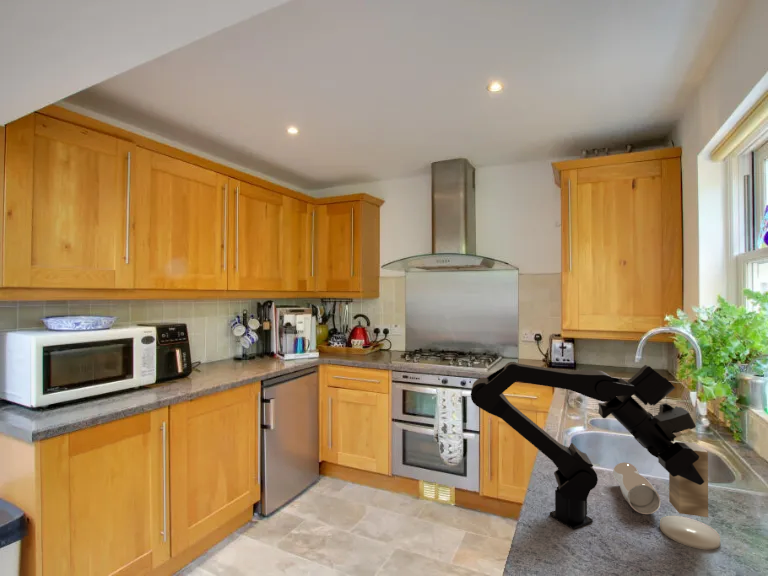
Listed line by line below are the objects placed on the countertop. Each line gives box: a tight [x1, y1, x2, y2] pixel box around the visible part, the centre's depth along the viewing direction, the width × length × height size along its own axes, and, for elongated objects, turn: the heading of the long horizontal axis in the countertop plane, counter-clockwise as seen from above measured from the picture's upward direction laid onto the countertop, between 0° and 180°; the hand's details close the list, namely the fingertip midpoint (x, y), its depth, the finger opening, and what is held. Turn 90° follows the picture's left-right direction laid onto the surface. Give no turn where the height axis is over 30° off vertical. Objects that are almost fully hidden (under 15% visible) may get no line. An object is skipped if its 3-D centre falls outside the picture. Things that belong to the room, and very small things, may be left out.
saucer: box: [659, 515, 721, 551], centre depth 84 cm, size 10×10×1 cm
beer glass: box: [612, 462, 662, 516], centre depth 99 cm, size 7×7×15 cm
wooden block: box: [668, 440, 709, 518], centre depth 84 cm, size 5×5×13 cm
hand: (695, 477), depth 84 cm, fingers closed on wooden block, 5 cm apart
